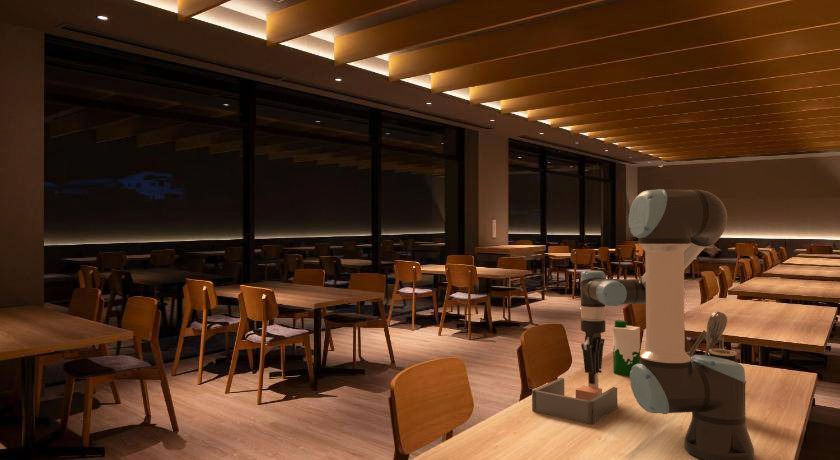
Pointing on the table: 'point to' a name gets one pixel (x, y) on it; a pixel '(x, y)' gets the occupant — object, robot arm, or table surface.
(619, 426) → the table surface
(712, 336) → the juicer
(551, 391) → the bin
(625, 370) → the milk carton
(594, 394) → the tile block
